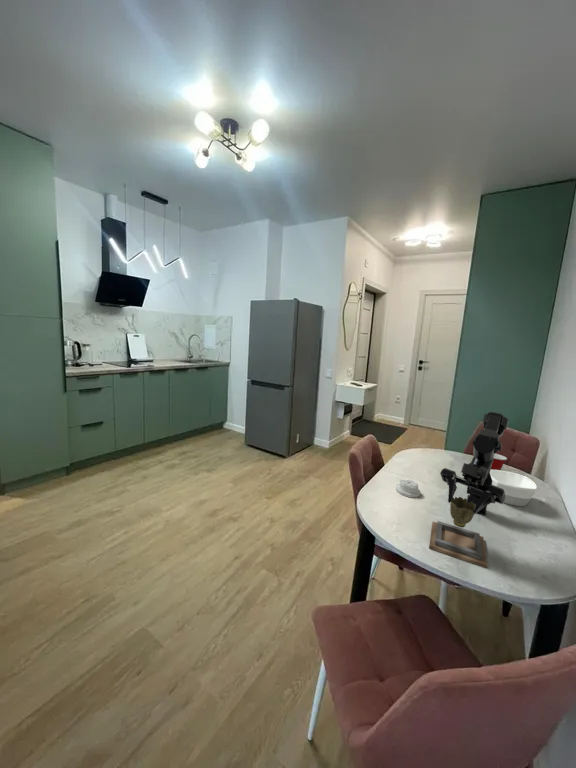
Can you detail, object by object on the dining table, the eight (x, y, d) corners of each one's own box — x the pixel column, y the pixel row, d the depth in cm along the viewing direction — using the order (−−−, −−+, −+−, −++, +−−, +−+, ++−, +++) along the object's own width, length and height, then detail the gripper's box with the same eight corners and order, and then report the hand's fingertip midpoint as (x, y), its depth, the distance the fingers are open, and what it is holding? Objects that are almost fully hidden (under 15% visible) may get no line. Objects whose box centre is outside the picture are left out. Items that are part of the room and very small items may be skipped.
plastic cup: (504, 478, 168) (509, 455, 166) (500, 484, 160) (505, 460, 158) (480, 470, 175) (484, 448, 173) (475, 476, 167) (479, 453, 165)
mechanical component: (392, 491, 143) (415, 500, 137) (393, 482, 142) (417, 490, 136) (400, 484, 151) (422, 492, 145) (401, 475, 150) (424, 482, 144)
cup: (442, 521, 110) (446, 499, 108) (453, 515, 114) (458, 494, 113) (464, 534, 104) (469, 511, 102) (476, 527, 108) (481, 505, 107)
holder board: (482, 539, 113) (484, 532, 113) (486, 568, 99) (488, 560, 99) (432, 523, 120) (433, 517, 120) (428, 548, 106) (430, 541, 106)
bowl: (539, 514, 135) (544, 492, 133) (489, 503, 140) (493, 482, 138) (524, 494, 151) (528, 475, 150) (480, 485, 157) (484, 466, 155)
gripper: (447, 445, 114) (427, 484, 109) (510, 465, 101) (491, 510, 95) (452, 461, 121) (434, 499, 115) (512, 482, 108) (494, 525, 102)
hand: (461, 507), depth 107 cm, fingers closed on cup, 7 cm apart
